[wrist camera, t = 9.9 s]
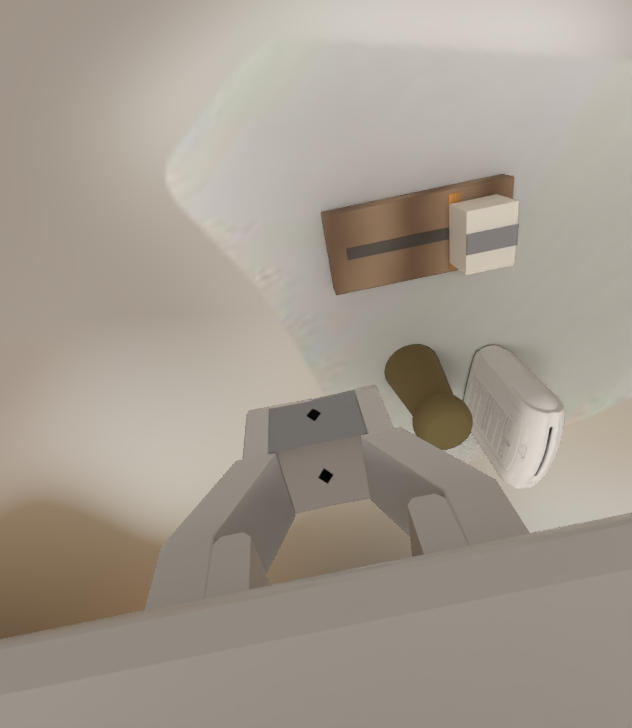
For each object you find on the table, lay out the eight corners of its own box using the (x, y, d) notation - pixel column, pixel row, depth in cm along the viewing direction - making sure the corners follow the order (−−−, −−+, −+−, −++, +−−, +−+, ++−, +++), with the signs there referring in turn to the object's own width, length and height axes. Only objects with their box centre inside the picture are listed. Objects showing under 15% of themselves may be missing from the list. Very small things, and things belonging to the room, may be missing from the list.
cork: (393, 340, 42) (428, 402, 33) (446, 348, 43) (495, 410, 34) (378, 388, 45) (405, 457, 36) (428, 394, 46) (467, 463, 37)
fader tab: (496, 194, 33) (520, 201, 30) (493, 253, 36) (515, 265, 33) (449, 204, 33) (467, 212, 30) (449, 262, 36) (466, 275, 33)
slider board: (502, 174, 35) (515, 176, 33) (497, 253, 38) (509, 259, 37) (320, 212, 35) (323, 217, 33) (333, 287, 39) (336, 295, 37)
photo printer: (490, 417, 49) (551, 498, 38) (456, 420, 49) (508, 502, 38) (510, 342, 44) (587, 411, 33) (472, 344, 43) (537, 415, 33)
